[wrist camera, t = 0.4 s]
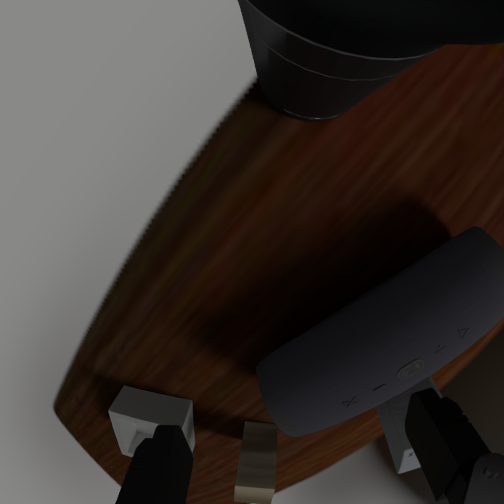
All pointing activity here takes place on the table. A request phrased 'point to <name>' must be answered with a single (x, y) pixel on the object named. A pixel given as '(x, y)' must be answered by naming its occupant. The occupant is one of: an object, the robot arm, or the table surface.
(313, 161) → the table surface
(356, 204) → the table surface
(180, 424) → the socket stand
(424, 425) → the robot arm
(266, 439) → the birch peg
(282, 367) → the bluetooth speaker
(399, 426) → the skincare box
